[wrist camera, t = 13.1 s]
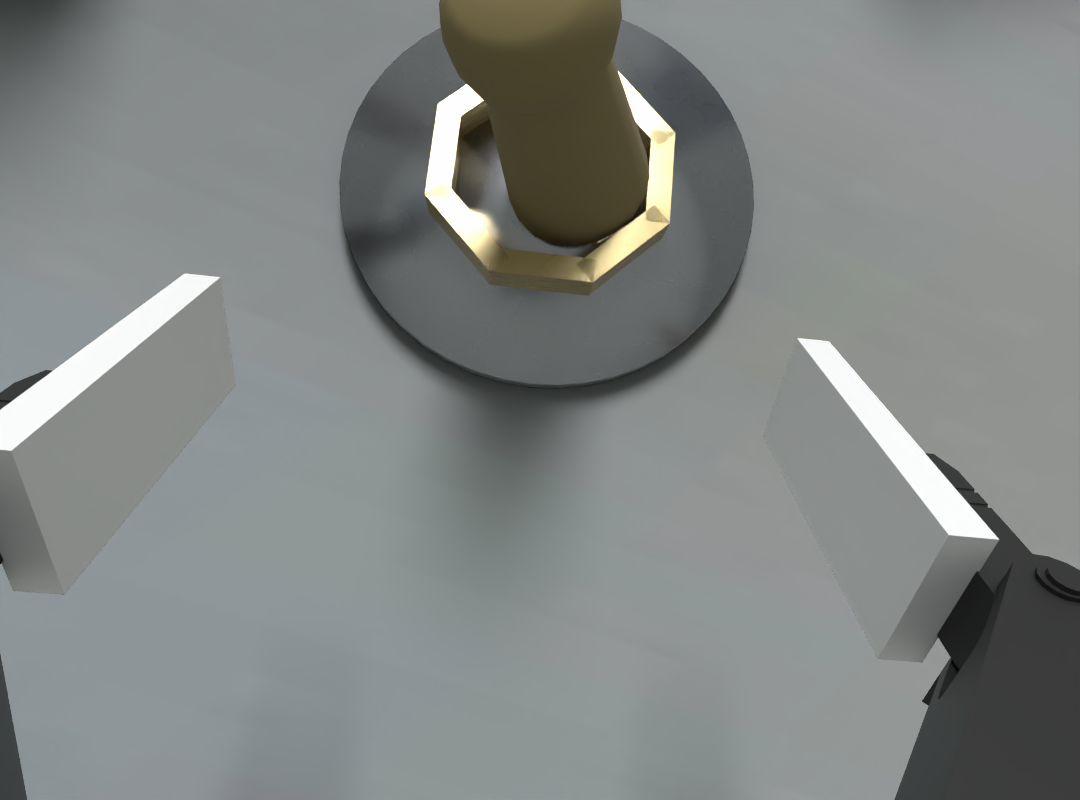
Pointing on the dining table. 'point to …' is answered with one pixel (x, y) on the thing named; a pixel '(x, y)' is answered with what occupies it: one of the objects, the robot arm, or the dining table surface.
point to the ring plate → (525, 259)
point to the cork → (553, 110)
